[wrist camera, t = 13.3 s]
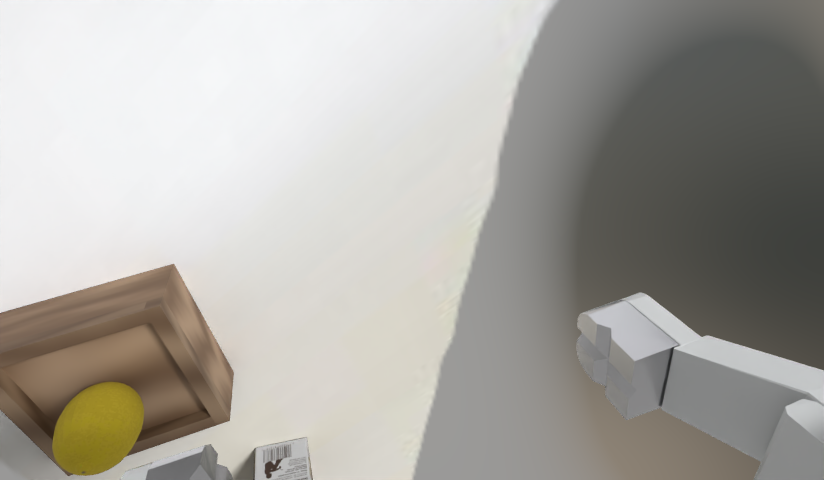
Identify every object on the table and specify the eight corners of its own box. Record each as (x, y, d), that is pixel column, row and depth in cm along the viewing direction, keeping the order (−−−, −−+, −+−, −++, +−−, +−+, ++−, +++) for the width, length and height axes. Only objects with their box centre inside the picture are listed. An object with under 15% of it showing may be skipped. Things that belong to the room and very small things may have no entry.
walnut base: (-1, 313, 37) (-45, 366, 31) (173, 263, 39) (159, 305, 34) (91, 418, 44) (68, 476, 39) (233, 372, 46) (229, 420, 41)
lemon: (93, 417, 38) (57, 507, 31) (63, 371, 35) (16, 460, 29) (162, 399, 39) (141, 483, 33) (139, 353, 36) (110, 435, 30)
